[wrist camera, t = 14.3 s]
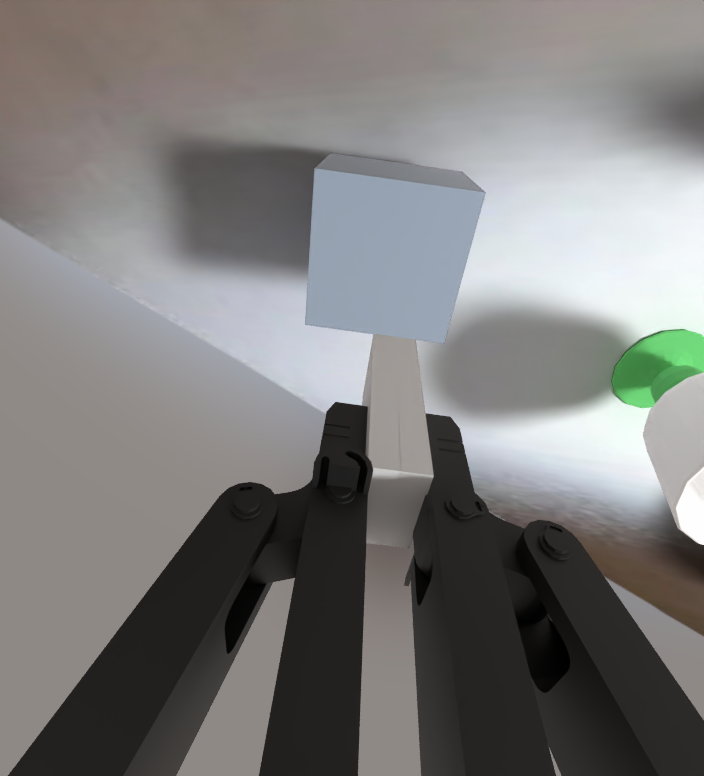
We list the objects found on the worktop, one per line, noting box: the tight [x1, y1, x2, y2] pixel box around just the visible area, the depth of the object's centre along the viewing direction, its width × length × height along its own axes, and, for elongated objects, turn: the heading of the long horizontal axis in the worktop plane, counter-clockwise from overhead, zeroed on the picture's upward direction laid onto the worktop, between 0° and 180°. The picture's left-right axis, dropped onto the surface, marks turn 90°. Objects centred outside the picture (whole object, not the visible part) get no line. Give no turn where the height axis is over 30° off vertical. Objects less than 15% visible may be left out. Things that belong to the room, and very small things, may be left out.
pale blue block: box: [305, 153, 486, 344], centre depth 30 cm, size 10×10×9 cm
